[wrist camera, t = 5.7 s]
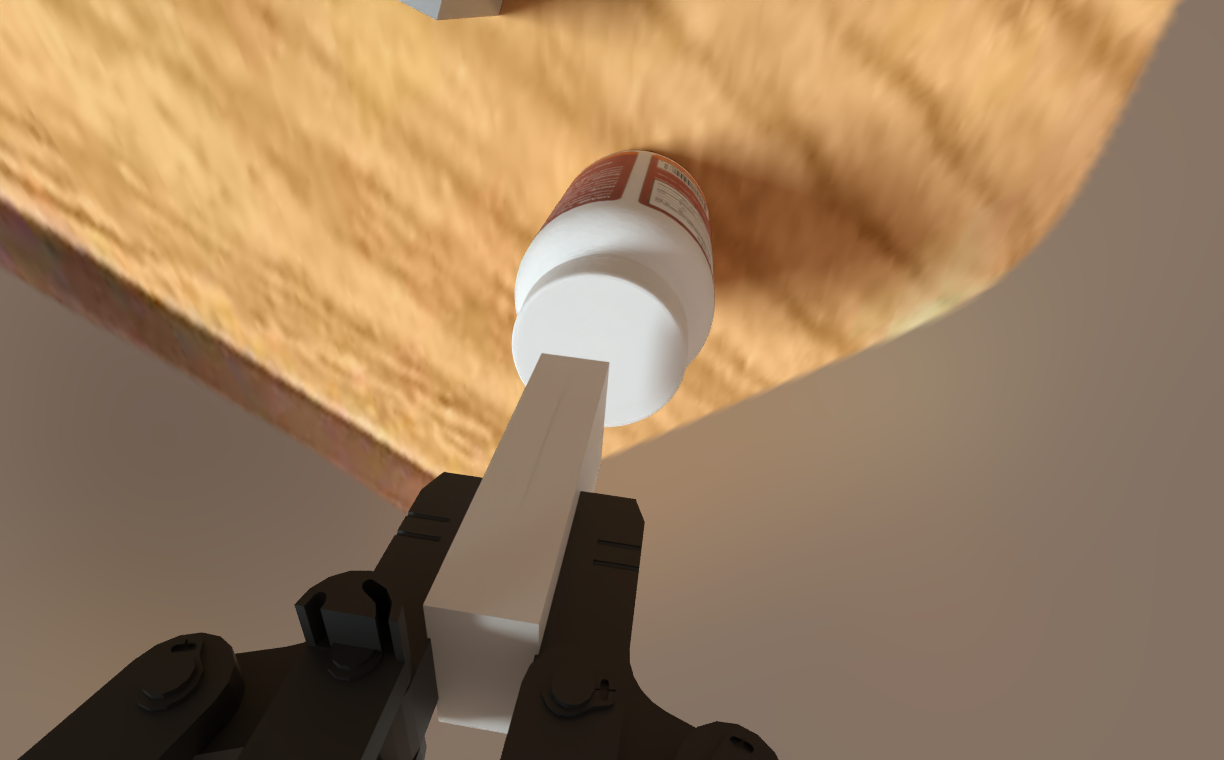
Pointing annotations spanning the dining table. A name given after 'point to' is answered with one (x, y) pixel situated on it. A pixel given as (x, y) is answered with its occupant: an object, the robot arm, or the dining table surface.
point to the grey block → (456, 8)
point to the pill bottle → (621, 280)
